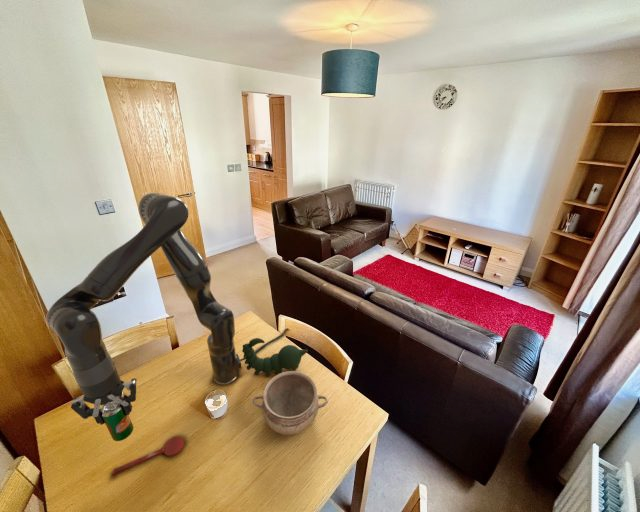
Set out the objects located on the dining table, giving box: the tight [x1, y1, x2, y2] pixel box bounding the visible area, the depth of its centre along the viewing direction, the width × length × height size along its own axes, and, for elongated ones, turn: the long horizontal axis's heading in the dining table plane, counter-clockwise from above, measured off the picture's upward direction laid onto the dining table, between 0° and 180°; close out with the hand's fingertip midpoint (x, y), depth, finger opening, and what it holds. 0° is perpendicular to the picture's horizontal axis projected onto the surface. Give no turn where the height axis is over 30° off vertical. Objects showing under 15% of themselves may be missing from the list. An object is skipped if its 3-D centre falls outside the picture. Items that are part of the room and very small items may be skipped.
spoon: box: [111, 435, 185, 476], centre depth 81 cm, size 18×6×1 cm, turn 119°
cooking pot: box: [252, 370, 329, 436], centre depth 92 cm, size 25×19×12 cm
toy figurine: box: [241, 337, 309, 378], centre depth 108 cm, size 9×19×25 cm
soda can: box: [100, 401, 135, 442], centre depth 75 cm, size 5×5×12 cm
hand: (116, 416), depth 75 cm, fingers closed on soda can, 5 cm apart
